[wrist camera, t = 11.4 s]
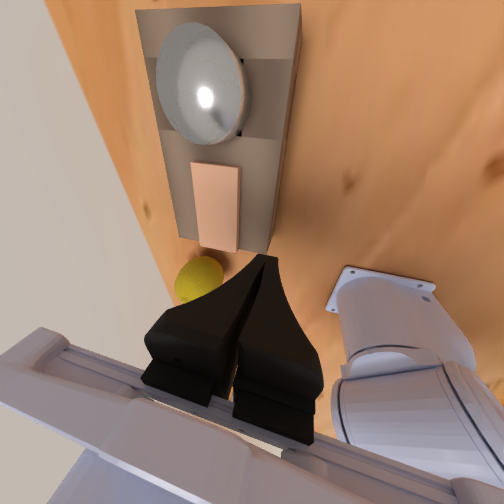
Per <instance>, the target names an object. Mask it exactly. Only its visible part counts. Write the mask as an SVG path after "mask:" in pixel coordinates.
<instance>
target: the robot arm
mask: <svg viewBox="0 0 504 504" xmlns="http://www.w3.org/2000/svg"><path fill="white" fill-rule="evenodd" d="M351 271H354V272H351ZM419 284H420V285H419ZM435 288H436V286H435V285H434V284H433V283H431V282H426V281H421V280H416V279H411V278H406V277H400V276H395V275H390V274H385V273H380V272H375V271H370V270H365V269H360V268H354V267H349V266H347V267H345V268H344V269H343V271H342V273H341V275H340V277H339V279H338V281H337V283H336V285H335V288H334V290H333V292H332V294H331V296H330V298H329V300H328V302H327V304H326V310H327V311H330V312H334V313H338V314H339V320H340V325H341V331H342V337H343V342H344V348H345V354H346V359H347V364H344V365H341V366H340V367H341V374H342V378H340V379H338V380H336V381H335V383H334V385H333V388H332V393H331V415H332V421H333V425H334V429H335V432H336V435H337V438H338V440H337V439H334V438H331V437H328V436H326V435H323V434H320V433H317V432H314V416H313V415H314V414H315V400H316V398H317V397H318V396H319V395H320V393H321V392H322V391H323V388H324V380H323V374H322V368H321V364H320V360H319V357H318V353H317V351H316V350H315V348H314V347H313V346H312V344H311V343H310V341H309V340H308V338H307V337H306V335H305V333H304V332H303V330H302V328H301V327H300V325H299V323H298V321H297V319H296V318H295V316H294V314H293V312H292V310H291V308H290V305H289V303H288V301H287V298H286V296H285V293H284V290H283V287H282V283H281V279H280V275H279V268H278V258H277V257H273V256H268V255H263V254H257V255H256V256H255V257H254V259H253V260H252V261H251V262H250V263H249V264H248V265H246V266H245V267H244V268H243V269H242V270H241V271H240V272H239V273H237V274H236V275H235V276H234V277H232V278H231V279H230V280H228V281H227V282H225V283H224V284H222V285H221V286H219V287H217V288H216V289H214V290H212V291H211V292H209V293H207V294H205V295H203V296H201V297H199V298H196V299H194V300H192V301H190V302H187V303H184V304H182V305H179V306H176V307H173V308H171V309H168V310H166V311H165V313H163V315H162V316H161V317H160V318H159V319H158V320H157V321H156V323H155V324H154V325H153V327H152V328H151V329H150V330H149V331H148V333H147V334H146V335H145V338H144V342H145V345H146V347H147V349H148V351H149V353H150V355H151V357H152V358H153V360H152V361H151V363H150V364H149V366H148V367H147V368H146V370H142V369H139V368H136V367H134V366H131V365H128V364H125V363H122V362H120V361H117V360H114V359H111V358H109V357H106V356H103V355H100V354H97V353H94V352H92V351H89V350H86V349H83V348H81V347H78V346H75V345H72V344H70V342H69V341H68V340H67V339H66V338H65V337H64V336H63V335H61V334H59V333H57V332H54V331H51V330H48V329H46V328H43V327H40V328H38V329H36V330H35V331H34V332H32V333H31V334H29V335H28V336H27V337H25V338H24V339H23V340H21V341H20V342H19V343H17V344H16V345H14V346H13V347H12V348H10V349H9V350H7V351H6V352H5V353H3V354H2V355H0V405H1V406H3V407H5V408H7V409H9V410H11V411H13V412H15V413H17V414H19V415H21V416H23V417H25V418H27V419H29V420H31V421H34V422H36V423H37V424H40V425H42V426H43V427H45V428H47V429H50V430H52V431H54V432H56V433H58V434H60V435H62V436H64V437H66V438H68V439H70V440H72V441H74V442H76V443H78V444H80V445H82V446H84V447H86V449H85V450H84V451H83V453H82V454H81V456H80V457H79V459H78V460H77V462H76V463H75V464H74V466H73V467H72V468H71V470H70V472H69V473H68V474H67V476H66V477H65V478H64V480H63V481H62V483H61V484H60V486H59V487H58V489H57V490H56V491H55V493H54V494H53V495H52V497H51V498H50V500H49V501H48V503H47V504H504V407H503V406H502V405H501V404H500V402H499V401H498V400H497V398H496V397H495V396H494V395H493V393H492V392H491V391H490V390H489V388H488V387H487V386H486V385H485V384H484V382H483V381H482V380H481V379H480V378H479V377H478V376H477V375H476V374H475V371H476V360H475V355H474V351H473V349H472V346H471V344H470V342H469V340H468V339H467V338H466V336H465V335H464V334H463V332H462V331H461V330H460V328H459V327H458V326H457V325H456V323H455V322H454V321H453V320H452V318H451V317H450V316H449V314H448V313H447V312H446V311H445V309H444V308H443V307H442V305H441V304H440V303H439V302H438V300H437V299H436V298H435V297H434V295H433V294H432V293H431V292H432V291H433V290H434V289H435ZM237 365H238V367H237ZM236 368H237V371H236ZM235 372H236V374H235ZM234 376H235V377H234ZM233 380H234V381H233ZM232 387H233V402H231V401H228V399H229V395H230V391H231V388H232ZM148 397H149V398H148ZM150 398H152V399H155V400H157V401H160V402H163V403H165V404H167V405H170V406H173V407H175V408H178V409H180V410H183V411H185V412H188V413H191V414H193V415H196V416H198V417H201V418H204V419H206V420H209V421H212V422H214V423H217V424H219V425H222V426H224V427H227V428H229V429H232V430H234V431H237V432H240V433H242V434H245V435H247V436H250V437H253V438H255V439H258V440H260V441H263V442H265V443H268V444H271V445H273V446H276V447H278V448H281V449H283V451H282V452H281V458H280V457H278V456H276V455H274V454H271V453H269V452H267V451H265V450H263V449H261V448H259V447H257V446H255V445H253V444H251V443H249V442H247V441H245V440H243V439H242V438H241V437H239V436H237V435H236V434H234V433H232V432H229V431H227V430H225V429H223V428H221V427H218V426H215V425H213V424H210V423H207V422H205V421H203V420H200V419H198V418H195V417H192V416H190V415H187V414H185V413H182V412H180V411H177V410H174V409H171V408H169V407H166V406H164V405H162V404H159V403H156V402H154V400H152V399H150Z"/></svg>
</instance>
